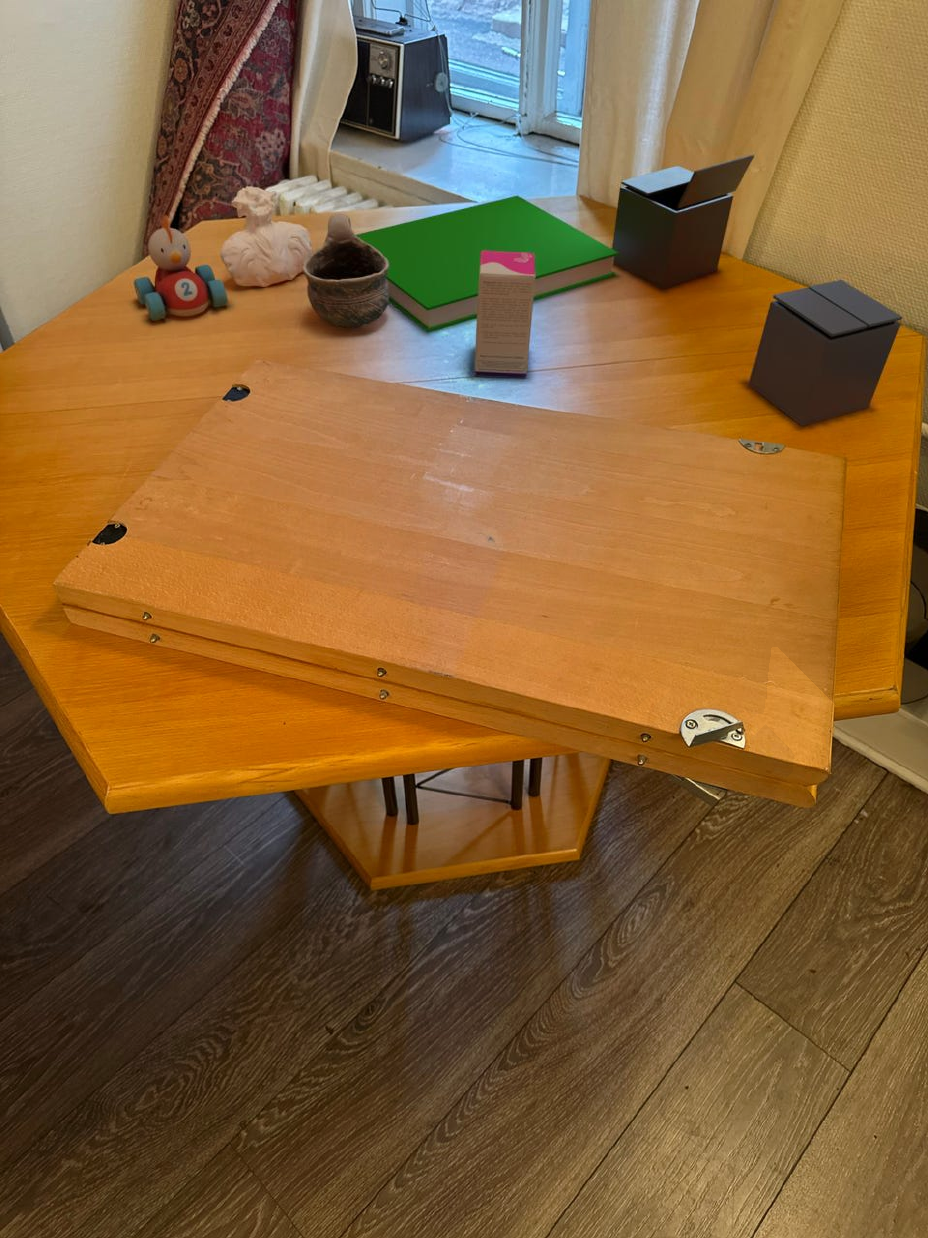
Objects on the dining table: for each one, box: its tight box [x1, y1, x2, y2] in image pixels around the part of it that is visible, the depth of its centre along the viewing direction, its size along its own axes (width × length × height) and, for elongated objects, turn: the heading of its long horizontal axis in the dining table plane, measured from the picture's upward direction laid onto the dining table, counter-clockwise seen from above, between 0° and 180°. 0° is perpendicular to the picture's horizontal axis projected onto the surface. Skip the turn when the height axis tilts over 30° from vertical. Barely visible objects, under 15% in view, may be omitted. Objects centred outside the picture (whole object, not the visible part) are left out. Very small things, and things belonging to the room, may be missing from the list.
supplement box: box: [473, 250, 535, 379], centre depth 94 cm, size 6×6×12 cm
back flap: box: [677, 154, 755, 208], centre depth 104 cm, size 5×10×1 cm
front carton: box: [747, 287, 902, 427], centre depth 91 cm, size 9×9×10 cm
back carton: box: [611, 165, 734, 291], centre depth 113 cm, size 10×10×10 cm
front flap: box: [807, 279, 903, 327], centre depth 88 cm, size 4×9×1 cm, turn 25°
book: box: [355, 195, 618, 333], centre depth 114 cm, size 22×28×3 cm
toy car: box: [133, 215, 229, 322], centre depth 104 cm, size 9×9×10 cm
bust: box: [219, 185, 313, 288], centre depth 110 cm, size 12×8×11 cm
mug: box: [302, 213, 389, 329], centre depth 102 cm, size 10×12×10 cm
